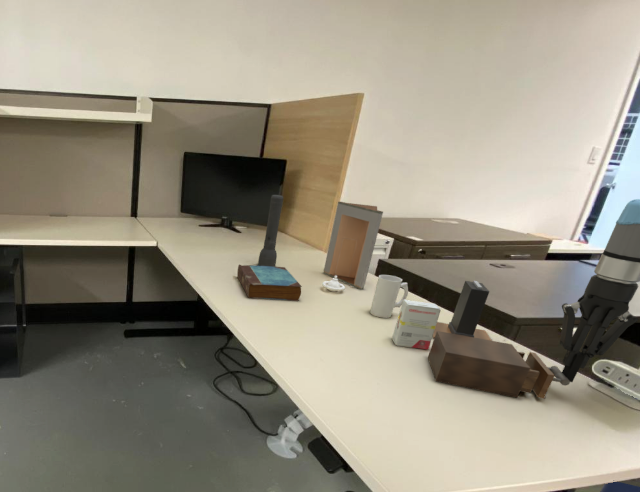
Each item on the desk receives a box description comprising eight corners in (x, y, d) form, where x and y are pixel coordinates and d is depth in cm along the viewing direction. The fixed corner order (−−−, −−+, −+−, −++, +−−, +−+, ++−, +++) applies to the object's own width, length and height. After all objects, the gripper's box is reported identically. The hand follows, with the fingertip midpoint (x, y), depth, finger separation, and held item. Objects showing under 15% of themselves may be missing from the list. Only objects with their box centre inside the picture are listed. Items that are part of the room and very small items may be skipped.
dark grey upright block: (466, 329, 139) (483, 281, 133) (472, 340, 131) (492, 289, 125) (447, 326, 140) (464, 278, 134) (453, 337, 133) (471, 286, 126)
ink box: (423, 343, 129) (436, 302, 124) (428, 350, 124) (442, 309, 119) (391, 338, 130) (402, 298, 125) (394, 345, 126) (407, 304, 121)
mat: (484, 332, 140) (485, 330, 140) (496, 350, 128) (497, 348, 128) (426, 321, 144) (427, 320, 144) (433, 338, 132) (433, 336, 132)
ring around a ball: (329, 285, 172) (316, 288, 168) (333, 270, 170) (319, 273, 165) (348, 292, 167) (334, 295, 162) (352, 277, 164) (338, 280, 160)
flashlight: (254, 264, 192) (265, 269, 186) (264, 194, 180) (276, 197, 175) (267, 263, 195) (278, 268, 190) (278, 194, 183) (290, 197, 178)
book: (236, 277, 173) (238, 264, 171) (283, 280, 174) (285, 267, 172) (247, 298, 153) (249, 283, 151) (300, 301, 154) (302, 286, 152)
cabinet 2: (500, 371, 115) (512, 344, 112) (517, 398, 104) (530, 368, 100) (427, 357, 120) (436, 330, 117) (435, 381, 108) (446, 352, 105)
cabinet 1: (323, 273, 188) (338, 201, 176) (341, 272, 192) (357, 201, 180) (360, 289, 171) (379, 211, 159) (379, 288, 174) (400, 211, 163)
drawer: (547, 378, 112) (557, 356, 110) (567, 403, 101) (579, 380, 99) (455, 360, 117) (463, 339, 115) (465, 382, 107) (474, 360, 104)
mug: (373, 317, 145) (383, 280, 139) (365, 309, 151) (375, 274, 146) (405, 319, 145) (416, 282, 140) (396, 312, 151) (407, 276, 146)
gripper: (644, 279, 97) (592, 378, 107) (571, 268, 100) (527, 365, 110) (665, 289, 90) (608, 393, 100) (586, 277, 94) (538, 379, 104)
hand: (566, 378), depth 105 cm, fingers closed
